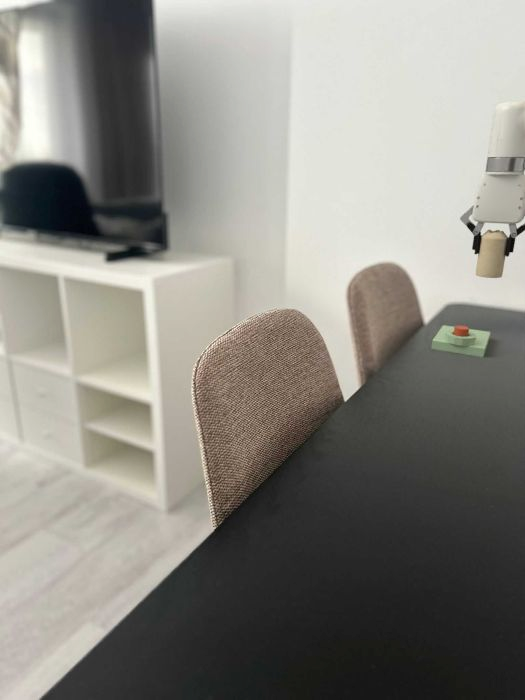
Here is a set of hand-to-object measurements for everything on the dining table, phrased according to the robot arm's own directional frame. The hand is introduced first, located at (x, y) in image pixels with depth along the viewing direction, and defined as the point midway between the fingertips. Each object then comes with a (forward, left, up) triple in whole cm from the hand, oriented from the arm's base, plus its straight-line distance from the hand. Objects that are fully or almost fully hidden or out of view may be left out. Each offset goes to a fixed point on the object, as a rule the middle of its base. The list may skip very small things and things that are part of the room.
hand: (491, 253), depth 113 cm
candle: (0, 0, -5) cm, 5 cm away
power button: (-2, +17, -15) cm, 23 cm away
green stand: (-1, +13, -18) cm, 22 cm away
